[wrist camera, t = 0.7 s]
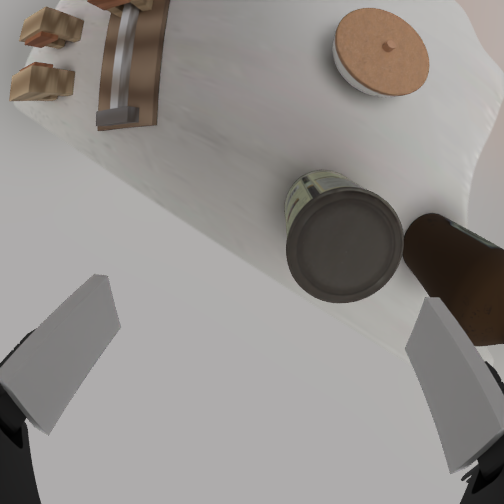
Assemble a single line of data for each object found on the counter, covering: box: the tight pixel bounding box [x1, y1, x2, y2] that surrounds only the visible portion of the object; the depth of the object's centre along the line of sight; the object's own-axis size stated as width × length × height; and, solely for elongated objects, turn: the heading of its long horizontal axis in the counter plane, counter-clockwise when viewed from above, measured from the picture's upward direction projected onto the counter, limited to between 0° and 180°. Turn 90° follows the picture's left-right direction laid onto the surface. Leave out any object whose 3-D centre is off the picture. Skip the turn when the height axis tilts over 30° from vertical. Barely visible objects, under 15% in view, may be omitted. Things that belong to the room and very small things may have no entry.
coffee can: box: [284, 170, 404, 303], centre depth 28 cm, size 10×10×14 cm
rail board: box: [96, 0, 170, 131], centre depth 25 cm, size 26×9×4 cm, turn 177°
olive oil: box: [403, 214, 504, 346], centre depth 23 cm, size 11×11×25 cm
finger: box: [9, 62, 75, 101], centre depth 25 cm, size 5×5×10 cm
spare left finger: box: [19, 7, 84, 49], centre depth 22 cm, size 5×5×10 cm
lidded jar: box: [333, 8, 429, 97], centre depth 22 cm, size 11×11×9 cm
